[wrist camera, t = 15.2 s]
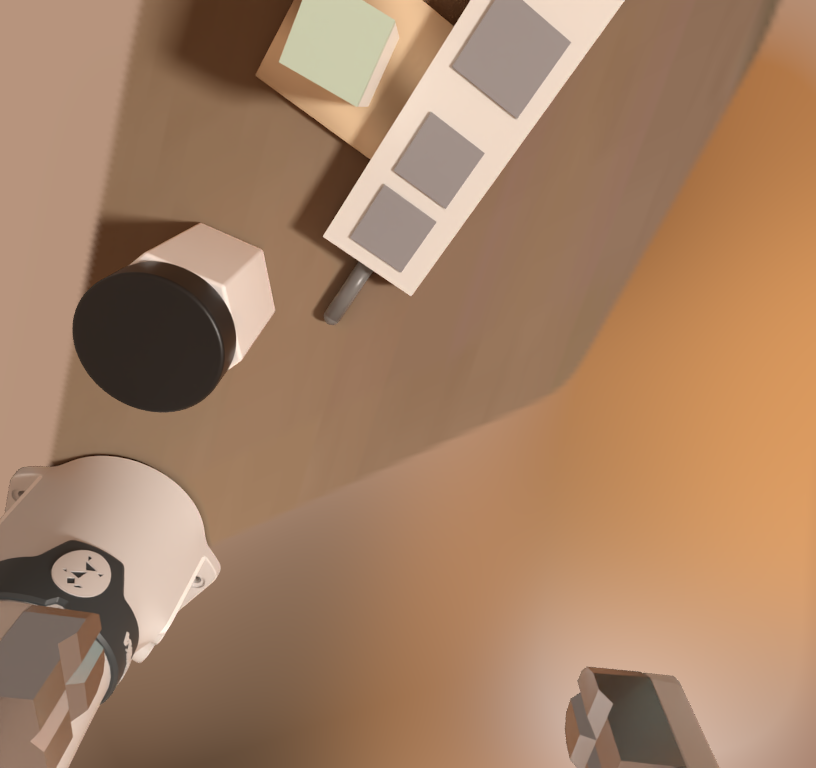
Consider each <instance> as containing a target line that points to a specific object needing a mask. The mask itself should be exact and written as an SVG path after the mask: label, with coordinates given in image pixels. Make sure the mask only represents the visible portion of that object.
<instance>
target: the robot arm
mask: <svg viewBox="0 0 816 768" xmlns="http://www.w3.org/2000/svg"><path fill="white" fill-rule="evenodd" d="M220 570H221V567H220V564H219V562H218V560H217V558H216V557H215V555H214V554H213V552H212V551H211V549H210V548H209V547H208V545H207V542H206V538H205V532H204V526H203V522H202V519H201V516H200V514H199V512H198V510H197V508H196V506H195V504H194V503H193V501H192V500H191V499H190V497H189V496H188V495H187V494H186V492H185V491H184V490H183V489H182V488H181V487H180V486H179V485H177V484H176V483H175V482H174V481H173V480H171V479H170V478H169V477H167V476H166V475H164V474H162V473H161V472H159V471H157V470H156V469H153V468H151V467H149V466H147V465H145V464H142V463H139V462H137V461H133V460H130V459H125V458H120V457H113V456H90V457H84V458H79V459H76V460H73V461H70V462H67V463H65V464H62V465H59V466H54V467H42V466H41V467H40V466H29V467H23V468H21V469H19V470H18V471H17V472H16V473H15V474H14V476H13V477H12V478H11V480H10V485H9V491H8V497H7V503H6V508H5V514H4V515H3V516H2V517H1V518H0V768H68V767H69V765H70V763H71V761H72V759H73V757H74V755H75V753H76V751H77V749H78V746H79V744H80V742H81V740H82V738H83V736H84V734H85V732H86V730H87V728H88V726H89V724H90V722H91V720H92V718H93V716H94V715H95V713H96V711H97V709H98V707H99V706H100V705H101V704H102V703H104V702H105V701H106V700H107V699H108V698H109V697H110V695H111V694H112V693H113V691H114V690H115V688H116V686H117V685H118V684H119V683H120V680H122V679H123V677H124V675H125V673H126V671H127V670H128V667H129V665H130V662H131V659H132V660H134V661H136V662H137V663H138V662H139V663H141V662H142V661H143V660H144V659H145V658H146V657H147V656H148V654H149V653H150V652H151V650H152V649H153V647H154V645H156V644H158V643H159V642H160V641H161V640H162V638H163V637H164V635H165V633H166V631H167V630H168V628H169V626H170V625H171V623H172V621H173V619H174V618H175V616H176V614H177V612H178V611H179V610H180V609H181V608H183V607H184V606H185V605H186V604H187V603H189V602H190V601H191V600H192V599H193V598H195V597H196V596H197V595H198V594H199V593H200V592H202V591H203V590H204V589H205V588H206V587H208V586H209V585H210V584H211V583H212V582H213V581H214V580H215V579H216V578H217V576H218V574H219V572H220ZM197 576H199V577H197ZM578 685H579V688H580V693H579V694H577V695H576V696H574V697H573V698H571V699H570V702H569V705H568V708H567V711H566V722H565V734H566V744H567V749H568V753H569V758H570V760H571V761H572V763H574V765H575V766H576V767H577V768H719V766H718V764H717V761H716V759H715V757H714V755H713V753H712V750H711V748H710V746H709V744H708V742H707V740H706V738H705V736H704V733H703V731H702V729H701V727H700V725H699V723H698V720H697V718H696V716H695V714H694V712H693V710H692V708H691V705H690V703H689V701H688V699H687V697H686V695H685V693H684V691H683V689H682V686H681V684H680V682H679V681H678V680H677V679H676V678H675V677H674V676H669V675H660V674H651V673H642V672H638V671H637V672H636V671H627V670H616V669H607V668H596V667H586V668H584V669H583V670H582V671H581V674H580V676H579V679H578Z"/></svg>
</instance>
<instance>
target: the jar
mask: <svg viewBox="0 0 816 768" xmlns="http://www.w3.org/2000/svg"><path fill="white" fill-rule="evenodd" d="M274 312H275V307H274V302H273V297H272V292H271V287H270V282H269V277H268V272H267V267H266V263H265V258H264V253H263V250H262V249H260V248H258V247H255V246H253V245H251V244H248V243H246V242H244V241H242V240H239V239H237V238H235V237H232V236H230V235H228V234H226V233H223V232H221V231H219V230H216V229H214V228H212V227H210V226H207V225H205V224H203V223H198V224H197V225H195V226H193V227H191V228H189V229H187V230H185V231H184V232H182V233H180V234H178V235H176V236H174V237H172V238H171V239H169V240H167V241H165V242H163V243H161V244H159V245H157V246H156V247H154V248H152V249H150V250H148V251H146V252H144V253H143V254H142V255H141V256H139V257H138V258H137V259H136V260H135V261H133V262H132V263H131V264H130V265H129V266H127V267H124V268H122V269H120V270H119V271H117V272H115V273H113V274H111V275H109V276H108V277H106V278H104V279H102V280H100V281H99V282H97V283H96V284H94V285H93V286H92V287H91V288H90V289H89V290H88V291H87V292H86V293H85V294H84V296H83V297H82V298H81V300H80V302H79V304H78V306H77V308H76V311H75V314H74V319H73V340H74V345H75V348H76V352H77V354H78V357H79V359H80V361H81V363H82V365H83V367H84V368H85V370H86V371H87V373H88V374H89V376H90V377H91V378H92V379H93V380H94V381H95V383H96V384H97V385H98V386H99V387H101V388H102V389H103V390H104V391H105V392H107V393H108V394H109V395H111V396H112V397H114V398H115V399H117V400H119V401H121V402H123V403H124V404H127V405H129V406H132V407H134V408H138V409H141V410H145V411H151V412H175V411H180V410H183V409H187V408H189V407H192V406H194V405H196V404H197V403H199V402H201V401H202V400H203V399H205V398H206V397H207V396H208V395H209V394H210V393H211V392H212V391H213V390H214V388H215V387H216V386H217V384H218V383H219V381H220V380H221V379H222V377H223V376H224V374H225V373H226V372H227V371H228V370H229V369H230V368H232V367H233V366H235V365H236V364H237V363H239V362H240V361H241V360H242V359H243V357H244V356H245V355H246V353H247V352H248V350H249V349H250V347H251V346H252V344H253V343H254V341H255V340H256V339H257V337H258V336H259V334H260V333H261V331H262V330H263V328H264V327H265V325H266V324H267V323H268V321H269V320H270V318H271V317H272V315H273V314H274Z"/></svg>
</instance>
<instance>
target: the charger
mask: <svg viewBox="0 0 816 768" xmlns="http://www.w3.org/2000/svg"><path fill="white" fill-rule="evenodd" d="M398 40H399V34H398V30H397V26H396V22H395V20H394V19H392V18H391V17H389V16H388V15H386V14H384V13H383V12H381V11H379V10H378V9H376V8H375V7H373V6H371V5H370V4H368V3H366V2H365V1H363V0H302V2H301V5H300V8H299V10H298V13H297V16H296V18H295V21H294V23H293V26H292V29H291V31H290V34H289V36H288V39H287V42H286V44H285V47H284V50H283V52H282V55H281V57H280V60H279V63H281V64H283V65H285V66H286V67H288V68H290V69H292V70H293V71H295V72H297V73H298V74H300V75H302V76H304V77H305V78H307V79H309V80H311V81H312V82H314V83H316V84H318V85H319V86H321V87H323V88H325V89H326V90H328V91H330V92H331V93H333V94H335V95H337V96H338V97H340V98H342V99H344V100H345V101H347V102H349V103H351V104H352V105H354V106H356V107H368V106H369V104H370V102H371V99H372V97H373V95H374V93H375V91H376V88H377V86H378V84H379V82H380V80H381V77H382V75H383V73H384V71H385V69H386V66H387V64H388V62H389V60H390V58H391V55H392V53H393V51H394V49H395V46H396V44H397V42H398Z"/></svg>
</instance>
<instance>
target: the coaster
mask: <svg viewBox="0 0 816 768" xmlns="http://www.w3.org/2000/svg"><path fill="white" fill-rule="evenodd" d="M363 1H365V2H366V3H368V4H370V5H371V6H373V7H375V8H376V9H378V10H379V11H381V12H383V13H384V14H386V15H388V16H389V17H391V18H392V19H394V20H395V22H396V26H397V30H398V34H399V40H398V42H397V44H396V46H395V49H394V51H393V53H392V55H391V58H390V60H389V62H388V64H387V66H386V69H385V71H384V73H383V75H382V77H381V80H380V82H379V84H378V86H377V88H376V91H375V93H374V95H373V97H372V99H371V102H370V104H369V106H368V107H356V106H354V105H352V104H351V103H349V102H347V101H345V100H344V99H342V98H340V97H338V96H337V95H335V94H333V93H331V92H330V91H328V90H326V89H325V88H323V87H321V86H319V85H318V84H316V83H314V82H312V81H311V80H309V79H307V78H305V77H304V76H302V75H300V74H298V73H297V72H295V71H293V70H292V69H290V68H288V67H286V66H285V65H283V64H281V63H279V60H280V57H281V55H282V52H283V50H284V47H285V44H286V42H287V39H288V36H289V34H290V31H291V29H292V26H293V23H294V21H295V18H296V16H297V13H298V10H299V8H300V5H301V2H302V0H294V1H293V3H292V5H291V7H290V9H289V11H288V12H287V14H286V16H285V18H284V20H283V22H282V24H281V26H280V28H279V30H278V32H277V34H276V36H275V38H274V40H273V42H272V44H271V45H270V47H269V49H268V51H267V53H266V55H265V57H264V59H263V61H262V63H261V65H260V67H259V69H258V71H257V73H256V75H255V76H256V77H258V78H259V79H260V80H262V81H263V82H265V83H266V84H267V85H269V86H270V87H271V88H273V89H274V90H276V91H277V92H278V93H280V94H281V95H282V96H284V97H285V98H287V99H288V100H289V101H291V102H292V103H293V104H295V105H296V106H298V107H299V108H300V109H302V110H303V111H304V112H306V113H307V114H309V115H310V116H311V117H313V118H314V119H315V120H317V121H318V122H319V123H321V124H322V125H324V126H325V127H326V128H328V129H329V130H330V131H332V132H333V133H335V134H336V135H337V136H339V137H340V138H341V139H343V140H344V141H346V142H347V143H348V144H350V145H351V146H352V147H354V148H355V149H357V150H358V151H359V152H361V153H362V154H363V155H365V156H366V157H368V158H369V159H370V160H371V159H372V157H373V155H374V154H375V152H376V151H377V149H378V147H379V146H380V144H381V143H382V141H383V139H384V138H385V136H386V135H387V133H388V131H389V130H390V128H391V127H392V125H393V123H394V122H395V120H396V119H397V117H398V115H399V114H400V112H401V111H402V109H403V107H404V106H405V104H406V103H407V101H408V99H409V98H410V96H411V95H412V93H413V91H414V90H415V88H416V87H417V85H418V83H419V82H420V80H421V79H422V77H423V75H424V74H425V72H426V71H427V69H428V67H429V66H430V64H431V63H432V61H433V59H434V58H435V56H436V55H437V53H438V51H439V50H440V48H441V47H442V45H443V43H444V42H445V40H446V39H447V37H448V35H449V34H450V32H451V31H452V29H453V27H454V26H453V25H452V24H450V23H449V22H448V21H447V20H446V19H444V18H443V17H442V16H441V15H440V14H438V13H437V12H436V11H435V10H434V9H432V8H431V7H430V6H429V5H427V4H426V3H425V2H424V1H423V0H363Z"/></svg>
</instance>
